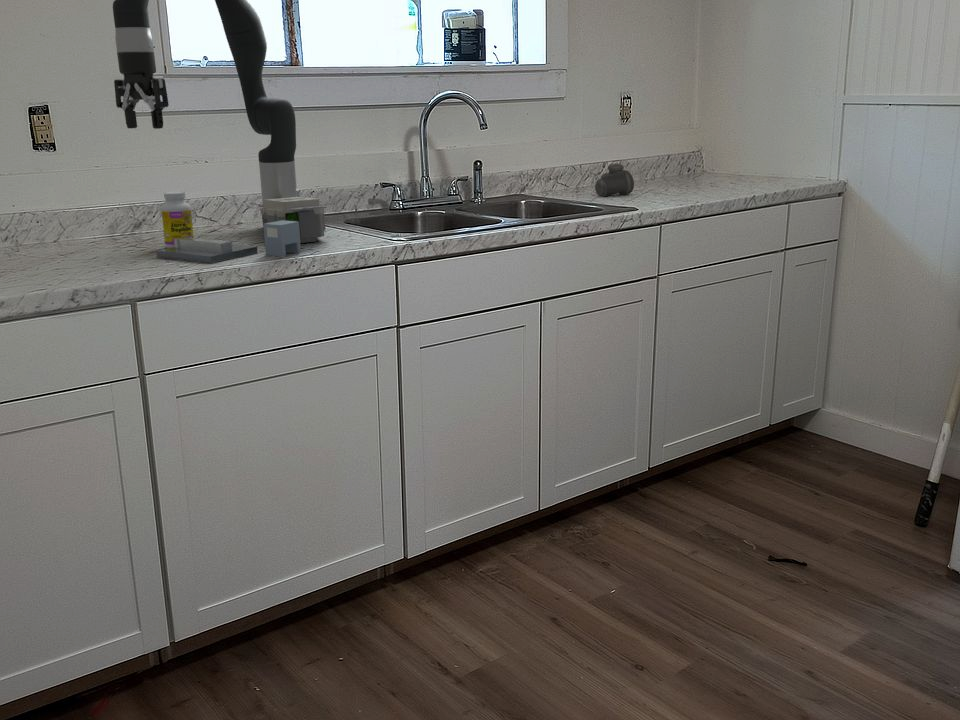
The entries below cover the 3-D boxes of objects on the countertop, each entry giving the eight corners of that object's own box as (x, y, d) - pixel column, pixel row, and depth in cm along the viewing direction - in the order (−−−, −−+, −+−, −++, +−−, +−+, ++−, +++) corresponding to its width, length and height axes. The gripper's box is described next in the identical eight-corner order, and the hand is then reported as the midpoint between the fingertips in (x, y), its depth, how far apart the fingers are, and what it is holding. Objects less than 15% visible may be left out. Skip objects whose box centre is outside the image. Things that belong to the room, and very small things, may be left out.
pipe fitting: (619, 191, 309) (619, 161, 305) (635, 195, 303) (635, 164, 299) (591, 198, 304) (590, 167, 300) (606, 202, 298) (605, 171, 293)
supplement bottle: (169, 250, 214) (163, 194, 210) (162, 246, 219) (155, 192, 216) (198, 247, 218) (192, 192, 214) (190, 243, 223) (184, 190, 219)
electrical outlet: (289, 246, 213) (284, 202, 211) (256, 238, 238) (251, 199, 235) (337, 241, 219) (333, 199, 216) (299, 234, 243) (296, 196, 241)
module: (284, 250, 211) (281, 220, 209) (300, 252, 209) (298, 221, 207) (265, 255, 206) (263, 223, 204) (282, 256, 204) (279, 225, 202)
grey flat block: (204, 247, 217) (202, 232, 216) (257, 253, 209) (256, 237, 208) (156, 257, 206) (155, 241, 205) (211, 263, 197) (209, 247, 196)
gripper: (171, 49, 197) (180, 127, 202) (128, 51, 204) (137, 127, 209) (143, 49, 191) (152, 129, 196) (99, 51, 198) (109, 129, 203)
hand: (145, 128), depth 202 cm, fingers open, 8 cm apart
